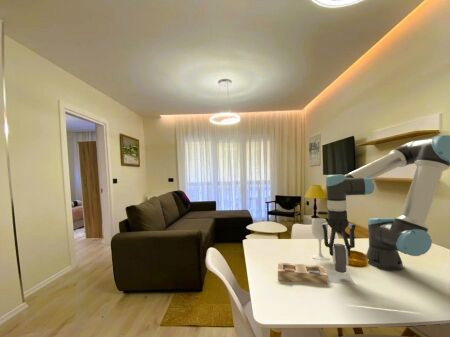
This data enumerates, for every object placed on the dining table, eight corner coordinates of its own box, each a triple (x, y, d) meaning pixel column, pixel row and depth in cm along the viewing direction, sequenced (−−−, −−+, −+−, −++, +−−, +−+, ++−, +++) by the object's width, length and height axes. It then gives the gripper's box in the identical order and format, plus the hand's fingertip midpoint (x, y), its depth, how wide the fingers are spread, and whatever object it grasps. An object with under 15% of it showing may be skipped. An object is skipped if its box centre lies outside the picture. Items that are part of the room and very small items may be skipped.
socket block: (323, 274, 100) (323, 264, 100) (327, 284, 91) (327, 273, 91) (278, 270, 105) (278, 261, 105) (278, 279, 96) (277, 269, 96)
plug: (344, 268, 97) (343, 243, 98) (347, 273, 93) (346, 247, 93) (334, 268, 98) (332, 243, 99) (336, 272, 94) (334, 246, 94)
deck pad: (348, 274, 99) (348, 273, 99) (355, 285, 90) (355, 284, 90) (324, 272, 102) (324, 271, 102) (329, 283, 92) (329, 282, 92)
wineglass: (311, 259, 117) (310, 220, 117) (312, 254, 125) (310, 217, 125) (329, 262, 114) (328, 221, 114) (328, 256, 122) (327, 218, 122)
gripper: (356, 208, 98) (359, 260, 97) (314, 208, 102) (317, 258, 102) (362, 211, 91) (365, 268, 90) (317, 211, 95) (320, 265, 94)
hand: (340, 263), depth 96 cm, fingers closed on plug, 4 cm apart
